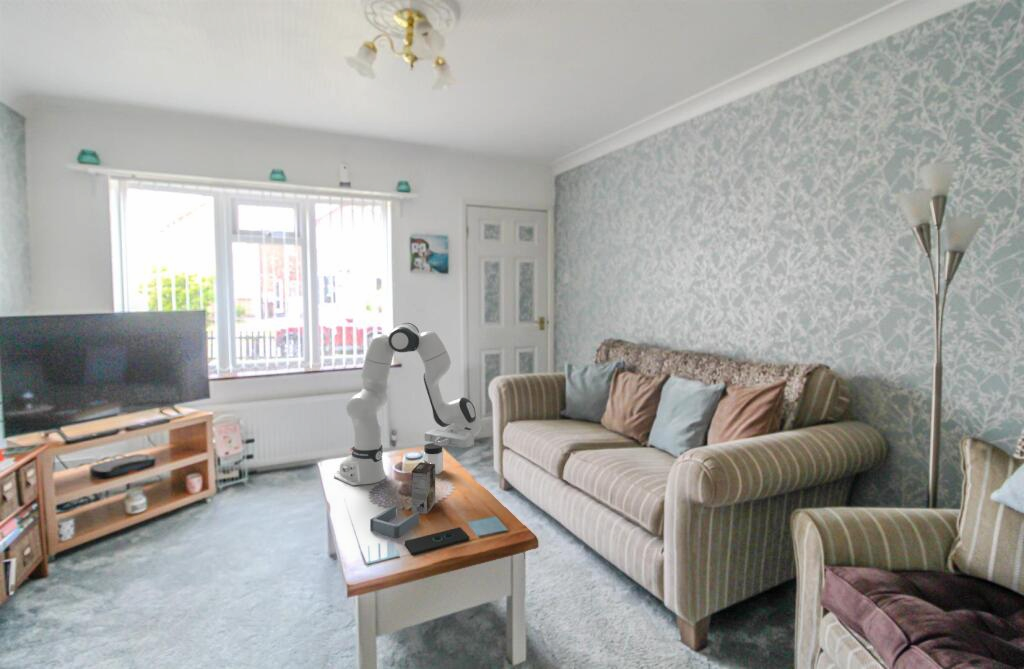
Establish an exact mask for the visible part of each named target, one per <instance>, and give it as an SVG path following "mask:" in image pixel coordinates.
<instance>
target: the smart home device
mask: <svg viewBox="0 0 1024 669" xmlns="http://www.w3.org/2000/svg"><path fill="white" fill-rule="evenodd" d="M469 541H470V536H469V535H468V533H467V532H465V531H464V529H463V528H462V527H460V526H459V527H455V528H450V529H447V530H444V531H438V532H435V533H430V534H428V535H422V536H419V537H415V538H412V539H407V540H405V541H404V546H405V548H406V549H407V550H408V552H409V553H410V555H411V556H413V557H414V556H417V555H421V554H425V553H428V552H432V551H436V550H439V549H441V550H442V549H443V548H446V547H447V548H448V547H451V546H455V545H458V544H462V543H466V542H469Z"/></svg>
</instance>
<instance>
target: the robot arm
mask: <svg viewBox="0 0 1024 669" xmlns="http://www.w3.org/2000/svg"><path fill="white" fill-rule="evenodd" d="M395 352H397V353H410V352H417V353H418V355H419V356H420V358H421V361H422V363H423V365H424V373H423V382H424V385H425V389H426V393H427V395H428V396H427V397H428V399H429V402H430V403H429V404H430V406H431V409H432V415H433V417H432V418H433V419H434V421H435V423H436V424H437V425H438V426H440V427H441V428H446V429H440V428H434V429H430V430H427V431H424V435H423V436H424V438H423V439H424V441H425V442H427V443H428V442H429V443H434V445H437V446H442V447H443V446H451V447H457V448H463V449H467V448H469V447H471V446H474V445H475V437H476V436H477V435H478V434H479V433H480V432H481V429H482V421H481V419H480V418H479V417H478V416H476V415H477V414H476V409H475V406H474V404H473V402H472V401H470V399H468V398H467V397H464V396H463V397H460V398H456V399H454V400H451V401H447V402H445V401H444V400H443V397H442V393H441V390H440V387H439V382H440V380H441V379H442V378H443V376H444V375H446V374H447V372H448V371H449V369H450V367H451V363H452V362H451V357H450V355H449V353H448V351H447V348H446V347H445V345H444V343H443V342H442V340H441V338H440V337H439V335H438V334H437V333H436V332H435V331H432V330H427V331H423V332H420V330H419V328H418V326H416V325H415V324H413V323H411V322H404V323H401V324H399V325H397V326H395V327H394V328H393V329H392V330H391V331H390V333H389V334H384V333H383V334H381V333H380V334H375V335H374V336H373V337H372V338H371V340H370V342H369V345H368V347H367V350H366V353H365V357H364V361H363V364H362V370H361V379H362V387H361V390H360V392H358V393H357V394H354V395H353V396H352V397H351V398H350V399H349V401H348V402H347V404H346V413H347V415H348V416H349V418H350V419H351V421H352V425H353V428H354V446H353V447H350V448H349V452H351V451H352V452H351V454H350V455H349V456H347V457H346V458H345V459H343V461H342V462H341V463H340V466H339V470H338V471H337V472H335V473H334V474H333V478H334V479H336V480H339V481H341V482H344V483H346V484H349V485H350V486H360V485H371V484H376V483H379V482H381V481H383V480H384V479H385V478H386V473H385V469H384V468H385V467H384V462H383V453H384V452H383V445H382V427H381V426H380V424H379V421H378V417H377V414H378V412H379V411H381V410H382V409H383V408H384V407H385V405H386V404H387V402H388V393H387V390H388V389H387V388H388V378H389V376H390V375H389V374H390V370H391V366H392V362H393V357H394V354H395Z"/></svg>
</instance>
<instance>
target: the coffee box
mask: <svg viewBox="0 0 1024 669" xmlns="http://www.w3.org/2000/svg"><path fill="white" fill-rule="evenodd" d="M435 504H436V474H435V464H430V463H423V461H422V462H419V463H418V464H417V465H416V466H415V467H414V468H413V469H412V470H411V513H415V512H419V514H428V513H429V512H430V511H431V510H432V508H433V507H434V505H435Z"/></svg>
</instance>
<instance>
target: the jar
mask: <svg viewBox="0 0 1024 669" xmlns="http://www.w3.org/2000/svg"><path fill="white" fill-rule="evenodd" d="M423 446H424V450H423V452H422V453H423V455H422V457H423V458H422V460H423V459H425V460H426V461H428V462H429V463H431V464H435V475H439V474H441V473H443V471H444V451H443V445H442V446H437V445H434V443H433V442H429V443H426V444H425V445H423Z"/></svg>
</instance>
